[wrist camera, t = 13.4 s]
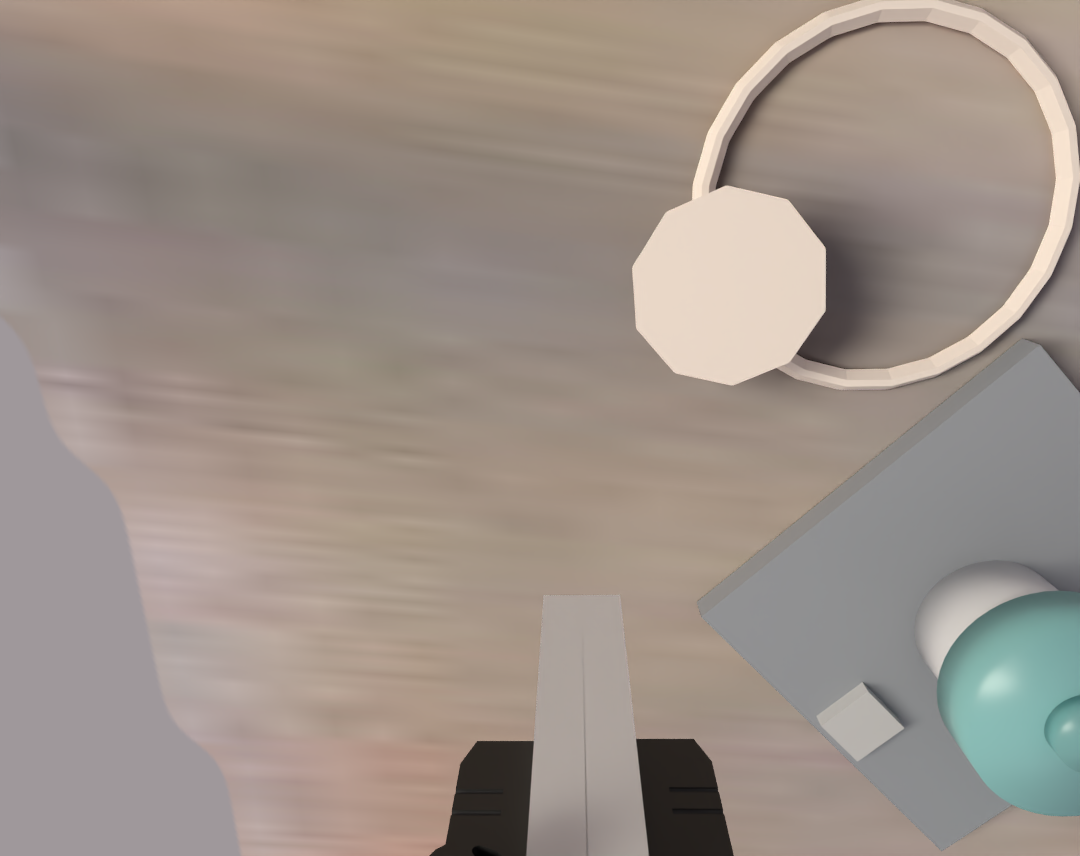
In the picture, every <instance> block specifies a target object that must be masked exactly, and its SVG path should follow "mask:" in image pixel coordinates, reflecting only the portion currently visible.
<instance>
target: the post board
mask: <svg viewBox="0 0 1080 856" xmlns="http://www.w3.org/2000/svg"><path fill="white" fill-rule="evenodd" d="M1044 591H1072V592H1078V593H1080V393H1079V391H1078V390H1077V389H1076V388H1075V387H1074V385H1073V384H1072V383H1071V382H1070V380H1069V379H1068V378H1067V377H1066V376H1065V374H1064V373H1063V372H1062V371H1061V370H1060V368H1059V367H1058V366H1057V365H1056V363H1055V362H1054V361H1053V360H1052V359H1051V357H1050V356H1049V355H1048V354H1047V353H1046V351H1045V350H1044V349H1043V348H1042V346H1041V345H1040V344H1037V343H1034V342H1031V341H1028V340H1025V339H1021V340H1019V341H1018V342H1017V343H1016V344H1015V345H1013V346H1012V347H1011V348H1010V349H1008V350H1007V351H1006V352H1005V353H1003V354H1002V355H1001V356H1000V357H998V358H997V359H996V360H995V361H994V362H992V363H991V364H990V365H989V366H987V367H986V368H985V369H984V370H982V371H981V372H980V373H979V374H978V375H976V376H975V377H974V378H973V379H971V380H970V381H969V382H968V383H966V384H965V385H964V386H963V387H961V388H960V389H959V390H958V391H957V392H955V393H954V394H953V395H952V396H950V397H949V398H948V399H947V400H945V401H944V402H943V403H942V404H941V405H939V406H938V407H937V408H936V409H934V410H933V411H932V412H931V413H929V414H928V415H927V416H926V417H924V418H923V419H922V420H921V421H920V422H918V423H917V424H916V425H915V426H913V427H912V428H911V429H910V430H908V431H907V432H906V433H905V434H903V435H902V436H901V437H900V438H899V439H897V440H896V441H895V442H894V443H892V444H891V445H890V446H889V447H887V448H886V449H885V450H884V451H883V452H881V453H880V454H879V455H878V456H876V457H875V458H874V459H873V460H871V461H870V462H869V463H868V464H866V465H865V466H864V467H863V468H862V469H860V470H859V471H858V472H857V473H855V474H854V475H853V476H852V477H850V478H849V479H848V480H847V481H846V482H844V483H843V484H842V485H841V486H839V487H838V488H837V489H836V490H834V491H833V492H832V493H831V494H829V495H828V496H827V497H826V498H825V499H823V500H822V501H821V502H820V503H818V504H817V505H816V506H815V507H813V508H812V509H811V510H810V511H809V512H807V513H806V514H805V515H804V516H802V517H801V518H800V519H799V520H797V521H796V522H795V523H794V524H792V525H791V526H790V527H789V528H788V529H786V530H785V531H784V532H783V533H781V534H780V535H779V536H778V537H776V538H775V539H774V540H773V541H772V542H770V543H769V544H768V545H767V546H765V547H764V548H763V549H762V550H760V551H759V552H758V553H757V554H755V555H754V556H753V557H752V558H751V559H749V560H748V561H747V562H746V563H744V564H743V565H742V566H741V567H739V568H738V569H737V570H736V571H735V572H733V573H732V574H731V575H730V576H728V577H727V578H726V579H725V580H723V581H722V582H721V583H720V584H718V585H717V586H716V587H715V588H714V589H712V590H711V591H710V592H709V593H707V594H706V595H705V596H704V597H702V598H701V599H700V600H699V601H697V605H698V608H699V611H700V614H701V617H702V618H703V619H704V620H705V621H706V622H707V623H708V624H709V625H710V626H711V627H712V628H713V629H714V630H715V631H716V632H717V633H718V634H719V635H720V636H721V637H722V638H723V639H724V640H725V641H727V642H728V643H729V644H730V645H731V646H732V647H733V648H734V649H735V650H736V651H737V652H738V653H739V654H740V655H741V656H742V657H743V658H744V659H745V660H746V661H747V662H748V663H749V664H750V665H751V666H752V667H753V668H754V669H755V670H756V671H757V672H758V673H759V674H760V675H761V676H762V677H763V678H764V679H766V680H767V681H768V682H769V683H770V684H771V685H772V686H773V687H774V688H775V689H776V690H777V691H778V692H779V693H780V694H781V695H782V696H783V697H784V698H785V699H786V700H787V701H788V702H789V703H790V704H791V705H792V706H793V707H794V708H795V709H796V710H797V711H798V712H799V713H800V714H801V715H802V716H803V717H805V718H806V719H807V720H808V721H809V722H810V723H811V724H812V725H813V726H814V727H815V728H816V729H817V730H818V731H819V732H820V733H821V734H822V735H823V736H824V737H825V738H826V739H827V740H828V741H829V742H830V743H831V744H832V745H833V746H834V747H835V748H836V749H837V750H838V751H839V752H840V753H841V754H842V755H843V756H845V757H846V758H847V759H848V760H849V761H850V762H851V763H852V764H853V765H854V766H855V767H856V768H857V769H858V770H859V771H860V772H861V773H862V774H863V775H864V776H865V777H866V778H867V779H868V780H869V781H870V782H871V783H872V784H873V785H874V786H875V787H876V788H877V789H878V790H879V791H880V792H881V793H882V794H884V795H885V796H886V797H887V798H888V799H889V800H890V801H891V802H892V803H893V804H894V805H895V806H896V807H897V808H898V809H899V810H900V811H901V812H902V813H903V814H904V815H905V816H906V817H907V818H908V819H909V820H910V821H911V822H912V823H913V824H914V825H915V826H916V827H917V828H918V829H919V830H920V831H921V832H923V833H924V834H925V835H926V836H927V837H928V838H929V839H930V840H931V841H932V842H933V843H934V844H935V845H936V846H937V847H938V848H939V849H940V850H941V851H943V850H944V849H946V848H947V847H949V846H950V845H952V844H953V843H955V842H957V841H958V840H960V839H961V838H963V837H964V836H966V835H967V834H969V833H970V832H972V831H973V830H975V829H976V828H978V827H979V826H981V825H982V824H984V823H985V822H987V821H988V820H990V819H991V818H993V817H994V816H996V815H997V814H999V813H1000V812H1002V811H1004V810H1005V809H1007V808H1008V807H1010V806H1011V805H1012V804H1010V803H1008V802H1007V801H1005V800H1004V799H1002V798H1000V797H999V796H998V795H997V794H995V793H994V792H993V791H992V790H991V789H990V788H989V787H988V786H987V785H986V784H985V783H984V781H983V780H982V779H981V777H980V776H979V774H978V773H977V772H976V770H975V769H974V767H973V766H972V764H971V763H970V761H969V760H968V759H967V757H966V756H965V754H964V753H963V751H962V750H961V749H960V747H959V746H958V744H957V743H956V741H955V740H954V738H953V737H952V736H951V734H950V733H949V731H948V729H947V728H946V726H945V725H944V722H943V720H942V718H941V715H940V712H939V708H938V704H937V681H938V677H939V672H940V669H941V666H942V664H943V661H944V658H945V657H946V655H947V653H948V651H949V649H950V647H951V646H952V645H953V643H954V642H955V641H956V639H957V638H958V637H959V635H960V634H961V633H962V632H963V631H964V630H965V629H966V628H967V627H968V626H969V625H970V624H971V623H973V622H974V621H975V620H976V619H977V618H979V617H980V616H982V615H983V614H985V613H986V612H988V611H989V610H991V609H992V608H994V607H996V606H998V605H1000V604H1002V603H1004V602H1007V601H1009V600H1012V599H1014V598H1017V597H1021V596H1024V595H1028V594H1032V593H1038V592H1044Z"/></svg>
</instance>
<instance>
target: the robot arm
mask: <svg viewBox="0 0 1080 856" xmlns="http://www.w3.org/2000/svg"><path fill="white" fill-rule="evenodd" d="M430 856H734V855H733V851H732V846H731V842H730V838H729V834H728V829H727V825H726V821H725V816H724V814H723V808H722V804H721V799H720V795H719V792H718V786H717V782H716V778H715V774H714V769H713V765H712V761H711V760H710V759H709V758H708V756H707V755H706V754H705V753H704V751H703V750H702V749H701V748H700V746H699V745H698V744H697V743H696V741H695V740H694V739H636V735H635V726H634V717H633V708H632V699H631V690H630V681H629V671H628V662H627V653H626V644H625V635H624V626H623V617H622V608H621V599H620V595H544V598H543V613H542V628H541V643H540V658H539V673H538V688H537V703H536V718H535V733H534V741H477V742H476V744H475V745H474V746H473V748H472V749H471V750H470V752H469V753H468V754H467V756H466V757H465V758H464V760H463V761H462V762H461V764H460V770H459V775H458V780H457V786H456V794H455V796H454V802H453V807H452V815H451V818H450V823H449V829H448V834H447V839H446V845H444V846H442V847H440V848H438V849H436V850H435V851H434V852H433V853H432V854H431V855H430Z"/></svg>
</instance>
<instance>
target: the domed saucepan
mask: <svg viewBox="0 0 1080 856" xmlns="http://www.w3.org/2000/svg"><path fill="white" fill-rule="evenodd" d="M937 704H938V708H939V712H940V715H941V718H942V720H943V722H944V725H945V726H946V728H947V729H948V731H949V733H950V734H951V736H952V737H953V738H954V740H955V741H956V743H957V744H958V746H959V747H960V749H961V750H962V751H963V753H964V754H965V756H966V757H967V759H968V760H969V761H970V763H971V764H972V766H973V767H974V769H975V770H976V772H977V773H978V774H979V776H980V777H981V779H982V780H983V781H984V783H985V784H986V785H987V786H988V787H989V788H990V789H991V790H992V791H993V792H994V793H995V794H997V795H998V796H999V797H1000V798H1002V799H1004V800H1005V801H1007V802H1008V803H1010V804H1012V805H1014V806H1016V807H1019V808H1021V809H1024V810H1027V811H1030V812H1034V813H1038V814H1044V815H1050V816H1079V815H1080V593H1078V592H1072V591H1044V592H1038V593H1032V594H1028V595H1024V596H1021V597H1017V598H1014V599H1012V600H1009V601H1007V602H1004V603H1002V604H1000V605H998V606H996V607H994V608H992V609H991V610H989V611H988V612H986V613H985V614H983V615H982V616H980V617H979V618H977V619H976V620H975V621H974V622H973V623H971V624H970V625H969V626H968V627H967V628H966V629H965V630H964V631H963V632H962V633H961V634H960V635H959V637H958V638H957V639H956V641H955V642H954V643H953V645H952V646H951V647H950V649H949V651H948V653H947V655H946V657H945V658H944V661H943V664H942V666H941V669H940V672H939V677H938V681H937Z"/></svg>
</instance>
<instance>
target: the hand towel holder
mask: <svg viewBox="0 0 1080 856" xmlns="http://www.w3.org/2000/svg"><path fill="white" fill-rule="evenodd" d="M909 21H926V22H930V23H934V24H937V25H941V26H945V27H948V28H952V29H956V30H959V31H963V32H967V33H970V34H971V35H973V36H974V37H976V38H977V39H979V40H980V41H982V42H984V43H985V44H987V45H988V46H990V47H991V48H993V49H994V50H996V51H997V52H999V53H1000V54H1002V55H1004V56H1005V57H1007V58H1008V60H1009V61H1010V62H1011V63H1012V65H1013V66H1014V67H1015V68H1016V70H1017V71H1018V72H1019V73H1020V74H1021V76H1022V77H1023V78H1024V79H1025V81H1026V82H1027V83H1028V84H1029V85H1030V87H1031V88H1032V89H1033V90H1034V92H1035V94H1036V96H1037V99H1038V101H1039V104H1040V106H1041V109H1042V111H1043V114H1044V116H1045V119H1046V121H1047V123H1048V126H1049V128H1050V131H1051V133H1052V142H1053V152H1054V162H1055V172H1056V184H1055V190H1054V196H1053V203H1052V209H1051V215H1050V221H1049V226H1048V228H1047V231H1046V233H1045V236H1044V238H1043V240H1042V243H1041V245H1040V247H1039V250H1038V252H1037V255H1036V257H1035V259H1034V262H1033V264H1032V266H1031V269H1030V270H1029V271H1028V273H1027V274H1026V275H1025V277H1024V278H1023V280H1022V281H1021V282H1020V284H1019V285H1018V286H1017V288H1016V289H1015V291H1014V292H1013V293H1012V295H1011V296H1010V297H1009V299H1008V300H1007V302H1006V303H1005V304H1004V306H1003V307H1002V308H1000V309H999V310H998V311H997V312H996V313H995V314H994V315H992V316H991V317H990V318H989V319H988V320H987V321H986V322H984V323H983V324H982V325H981V326H980V327H979V328H978V329H976V330H975V331H974V332H973V333H972V334H971V335H970V336H968V337H966V338H965V339H963V340H961V341H959V342H957V343H955V344H953V345H952V346H950V347H948V348H946V349H944V350H942V351H940V352H939V353H937V354H935V355H933V356H931V357H929V358H926V359H922V360H918V361H914V362H911V363H907V364H903V365H899V366H896V367H892V368H888V369H842V368H838V367H834V366H830V365H826V364H822V363H818V362H814V361H810V360H806V359H804V358H802V357H801V356H799V355H797V354H796V353H797V351H798V350H799V348H800V347H801V345H802V344H803V343H804V341H805V340H806V338H807V337H808V335H809V334H810V332H811V331H812V330H813V328H814V327H815V325H816V324H817V322H818V321H819V320H820V318H821V317H822V315H823V314H824V312H825V311H826V248H825V247H824V245H823V244H822V243H821V241H820V240H819V239H818V237H817V236H816V235H815V234H814V232H813V231H812V230H811V228H810V227H809V226H808V225H807V223H806V222H805V221H804V219H803V218H802V217H801V216H800V214H799V213H798V212H797V210H796V209H795V208H794V207H793V205H792V204H791V203H790V201H789V200H788V199H783V198H779V197H775V196H770V195H766V194H762V193H757V192H753V191H749V190H744V189H740V188H736V187H731V186H727V185H726V186H724V187H721V188H719V189H717V190H716V184H717V181H718V177H719V174H720V171H721V167H722V164H723V161H724V157H725V154H726V151H727V147H728V144H729V141H730V139H731V138H732V136H733V134H734V132H735V131H736V129H737V127H738V126H739V124H740V122H741V120H742V119H743V117H744V115H745V114H746V112H747V110H748V108H749V107H750V105H751V103H752V102H753V100H754V99H755V98H756V97H757V95H758V94H759V93H760V92H761V91H762V90H763V89H764V88H765V87H766V86H767V85H768V84H769V83H770V82H771V81H772V80H773V79H774V78H775V77H776V76H777V75H778V74H779V73H780V72H781V71H782V70H783V69H784V68H785V67H786V65H787V64H788V63H790V62H791V61H793V60H795V59H796V58H798V57H799V56H801V55H803V54H804V53H806V52H807V51H809V50H811V49H812V48H814V47H815V46H817V45H819V44H820V43H822V42H824V41H825V40H827V39H828V38H830V37H832V36H835V35H839V34H842V33H845V32H848V31H851V30H855V29H858V28H861V27H864V26H867V25H871V24H874V23H877V22H909ZM1079 183H1080V166H1079V155H1078V144H1077V133H1076V124H1075V121H1074V119H1073V116H1072V114H1071V111H1070V109H1069V106H1068V103H1067V101H1066V98H1065V96H1064V93H1063V91H1062V88H1061V86H1060V83H1059V81H1058V78H1057V76H1056V74H1055V73H1054V72H1053V71H1052V69H1051V68H1050V67H1049V66H1048V64H1047V63H1046V62H1045V61H1044V59H1043V58H1042V57H1041V56H1040V54H1039V53H1038V52H1037V51H1036V50H1035V48H1034V47H1033V46H1032V45H1031V43H1030V42H1029V41H1028V40H1027V38H1026V37H1025V36H1024V35H1022V34H1021V33H1019V32H1018V31H1016V30H1015V29H1013V28H1012V27H1010V26H1009V25H1007V24H1006V23H1004V22H1002V21H1001V20H999V19H998V18H996V17H995V16H993V15H992V14H990V13H989V12H987V11H986V10H984V9H983V8H980V7H976V6H973V5H969V4H966V3H962V2H958V1H955V0H861V1H858V2H855V3H851V4H848V5H845V6H842V7H839V8H836V9H832V10H829V11H826V12H823V13H822V14H820V15H818V16H817V17H815V18H814V19H812V20H810V21H809V22H807V23H806V24H804V25H803V26H801V27H799V28H798V29H796V30H795V31H793V32H791V33H790V34H788V35H787V36H785V37H784V38H782V39H780V40H779V41H777V42H776V43H774V45H773V46H772V47H771V48H770V49H769V50H768V51H767V52H766V53H765V54H764V55H763V56H762V57H761V58H760V59H759V60H758V61H757V62H756V63H755V64H754V65H753V66H752V68H751V69H750V70H749V71H748V72H747V73H746V74H745V75H744V76H743V77H742V78H741V79H740V80H739V81H738V82H737V83H736V85H735V86H734V88H733V90H732V91H731V93H730V95H729V97H728V98H727V100H726V102H725V104H724V105H723V107H722V109H721V111H720V112H719V114H718V116H717V117H716V119H715V121H714V123H713V124H712V126H711V128H710V130H709V131H708V134H707V137H706V141H705V144H704V148H703V151H702V155H701V158H700V161H699V165H698V168H697V172H696V175H695V179H694V182H693V198H692V201H690V202H688V203H685V204H683V205H681V206H678V207H676V208H674V209H672V210H669V211H667V212H666V213H665V215H664V216H663V218H662V220H661V221H660V223H659V224H658V226H657V228H656V229H655V231H654V233H653V234H652V236H651V238H650V239H649V241H648V242H647V244H646V246H645V247H644V249H643V251H642V252H641V254H640V256H639V257H638V259H637V260H636V262H635V264H634V265H633V267H632V271H633V286H634V301H635V317H636V329H637V330H638V331H639V332H640V333H641V335H642V336H643V337H644V338H645V339H646V340H647V342H648V343H649V344H650V345H651V346H652V347H653V349H654V350H655V351H656V352H657V353H658V354H659V355H660V357H661V358H662V359H663V360H664V361H665V362H666V364H667V365H668V366H669V367H670V368H671V369H672V371H673V372H674V373H677V374H682V375H686V376H691V377H695V378H700V379H704V380H709V381H713V382H718V383H722V384H727V385H732V386H733V385H735V384H738V383H740V382H743V381H745V380H748V379H750V378H753V377H755V376H758V375H760V374H762V373H765V372H767V371H770V370H772V369H775V368H777V369H779V370H781V371H783V372H784V373H786V374H788V375H790V376H791V377H793V378H795V379H798V380H802V381H806V382H810V383H814V384H818V385H822V386H826V387H830V388H834V389H838V390H887V389H892V388H895V387H899V386H903V385H907V384H910V383H914V382H918V381H922V380H926V379H929V378H933V377H936V376H938V375H940V374H942V373H944V372H945V371H947V370H949V369H951V368H953V367H955V366H957V365H959V364H960V363H962V362H964V361H966V360H968V359H970V358H972V357H974V356H975V355H977V354H979V353H981V352H982V351H983V350H984V349H985V348H986V347H987V346H989V345H990V344H991V343H992V342H993V341H994V340H996V339H997V338H998V337H999V336H1000V335H1001V334H1003V333H1004V332H1005V331H1006V330H1007V329H1008V328H1009V327H1011V326H1012V325H1013V324H1014V323H1015V322H1016V321H1018V320H1019V319H1020V317H1021V316H1022V315H1023V313H1024V312H1025V311H1026V309H1027V308H1028V307H1029V305H1030V304H1031V302H1032V301H1033V300H1034V298H1035V297H1036V296H1037V294H1038V293H1039V292H1040V290H1041V289H1042V288H1043V286H1044V285H1045V283H1046V282H1047V281H1048V279H1049V278H1050V277H1051V275H1052V273H1053V270H1054V268H1055V266H1056V264H1057V261H1058V259H1059V257H1060V254H1061V252H1062V250H1063V247H1064V245H1065V243H1066V240H1067V238H1068V236H1069V233H1070V231H1071V229H1072V224H1073V218H1074V213H1075V207H1076V201H1077V195H1078V189H1079Z"/></svg>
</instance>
